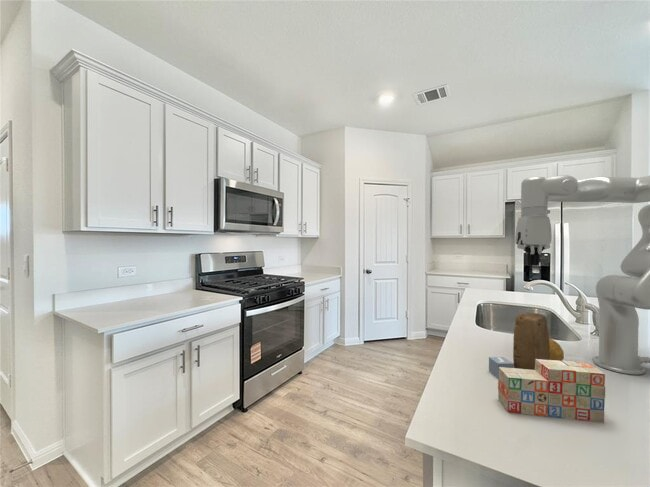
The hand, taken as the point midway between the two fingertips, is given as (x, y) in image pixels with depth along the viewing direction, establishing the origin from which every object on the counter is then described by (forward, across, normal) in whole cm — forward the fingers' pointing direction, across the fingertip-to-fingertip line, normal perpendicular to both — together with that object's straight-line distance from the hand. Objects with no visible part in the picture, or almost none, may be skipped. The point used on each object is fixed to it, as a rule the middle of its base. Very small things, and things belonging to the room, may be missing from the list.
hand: (533, 265), depth 101 cm
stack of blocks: (+36, +16, +27) cm, 47 cm away
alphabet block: (+35, +16, +8) cm, 39 cm away
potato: (+35, -5, -3) cm, 36 cm away
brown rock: (+35, +6, +8) cm, 37 cm away
